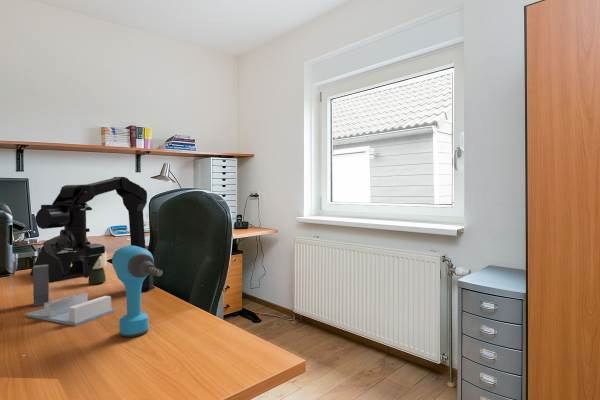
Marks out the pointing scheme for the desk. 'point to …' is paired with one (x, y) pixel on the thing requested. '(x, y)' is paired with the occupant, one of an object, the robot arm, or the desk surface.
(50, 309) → the bar
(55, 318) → the vise base
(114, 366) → the desk surface
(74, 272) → the device stand
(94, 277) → the character mug
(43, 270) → the steel block
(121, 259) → the power drill
